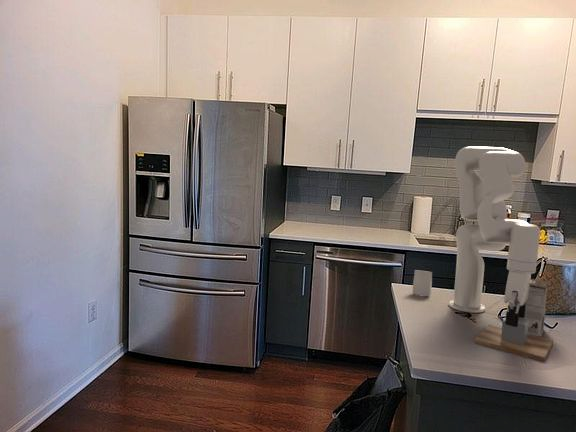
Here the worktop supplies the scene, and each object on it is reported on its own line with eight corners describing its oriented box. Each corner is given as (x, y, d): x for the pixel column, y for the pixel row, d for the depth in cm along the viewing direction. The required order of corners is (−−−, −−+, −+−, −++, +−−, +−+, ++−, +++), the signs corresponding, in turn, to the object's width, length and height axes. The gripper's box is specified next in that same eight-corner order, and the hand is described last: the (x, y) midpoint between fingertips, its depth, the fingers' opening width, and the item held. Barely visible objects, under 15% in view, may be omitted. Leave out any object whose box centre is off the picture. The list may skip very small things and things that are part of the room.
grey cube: (505, 333, 132) (507, 315, 131) (527, 339, 128) (529, 320, 128) (500, 339, 127) (502, 320, 127) (523, 345, 124) (525, 325, 123)
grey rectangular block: (429, 297, 172) (431, 273, 171) (412, 294, 175) (414, 270, 174) (430, 295, 175) (432, 271, 174) (414, 292, 178) (415, 269, 177)
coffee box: (522, 324, 145) (526, 277, 143) (544, 328, 141) (549, 281, 139) (518, 332, 137) (523, 283, 135) (541, 337, 134) (546, 287, 132)
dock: (488, 328, 140) (490, 314, 139) (552, 344, 128) (554, 329, 128) (474, 342, 127) (476, 327, 127) (544, 361, 116) (545, 345, 116)
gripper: (513, 258, 134) (507, 310, 137) (500, 268, 121) (494, 325, 123) (540, 262, 130) (534, 316, 132) (530, 273, 116) (523, 333, 119)
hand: (514, 321), depth 128 cm, fingers open, 9 cm apart
